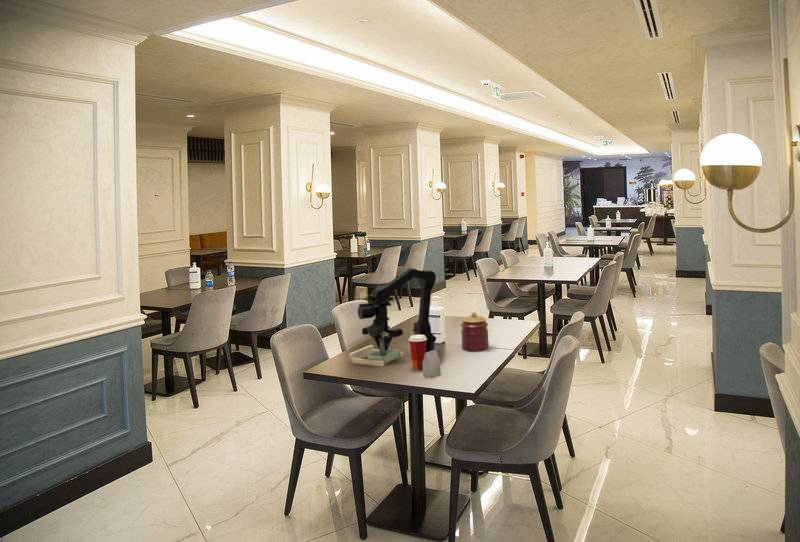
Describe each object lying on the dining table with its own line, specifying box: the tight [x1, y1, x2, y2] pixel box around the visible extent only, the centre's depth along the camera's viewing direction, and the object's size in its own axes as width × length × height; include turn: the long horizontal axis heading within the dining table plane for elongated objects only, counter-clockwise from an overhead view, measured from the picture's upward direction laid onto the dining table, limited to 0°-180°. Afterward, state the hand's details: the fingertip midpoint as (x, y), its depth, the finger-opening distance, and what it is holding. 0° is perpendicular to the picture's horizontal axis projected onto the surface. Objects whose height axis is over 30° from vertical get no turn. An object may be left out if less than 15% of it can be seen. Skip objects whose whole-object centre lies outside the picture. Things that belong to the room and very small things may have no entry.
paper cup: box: [408, 335, 427, 371], centre depth 244 cm, size 8×8×14 cm
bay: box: [348, 344, 405, 367], centre depth 260 cm, size 18×18×5 cm
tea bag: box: [422, 349, 442, 379], centre depth 233 cm, size 4×7×10 cm, turn 136°
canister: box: [460, 311, 490, 352], centre depth 272 cm, size 13×13×18 cm
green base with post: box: [366, 336, 401, 366], centre depth 257 cm, size 9×13×10 cm
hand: (383, 350), depth 257 cm, fingers closed on green base with post, 3 cm apart
